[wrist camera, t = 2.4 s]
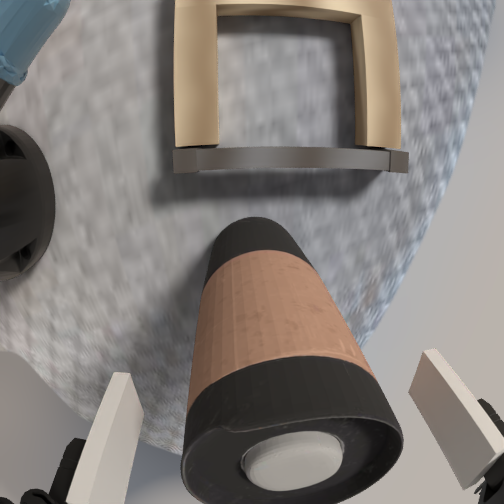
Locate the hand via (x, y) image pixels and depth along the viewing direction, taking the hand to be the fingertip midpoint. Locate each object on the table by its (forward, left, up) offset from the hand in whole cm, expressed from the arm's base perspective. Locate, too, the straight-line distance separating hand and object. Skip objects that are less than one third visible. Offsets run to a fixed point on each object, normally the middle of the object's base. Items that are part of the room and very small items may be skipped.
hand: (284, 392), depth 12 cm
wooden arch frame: (+3, +16, -15) cm, 23 cm away
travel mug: (0, 0, -16) cm, 16 cm away
